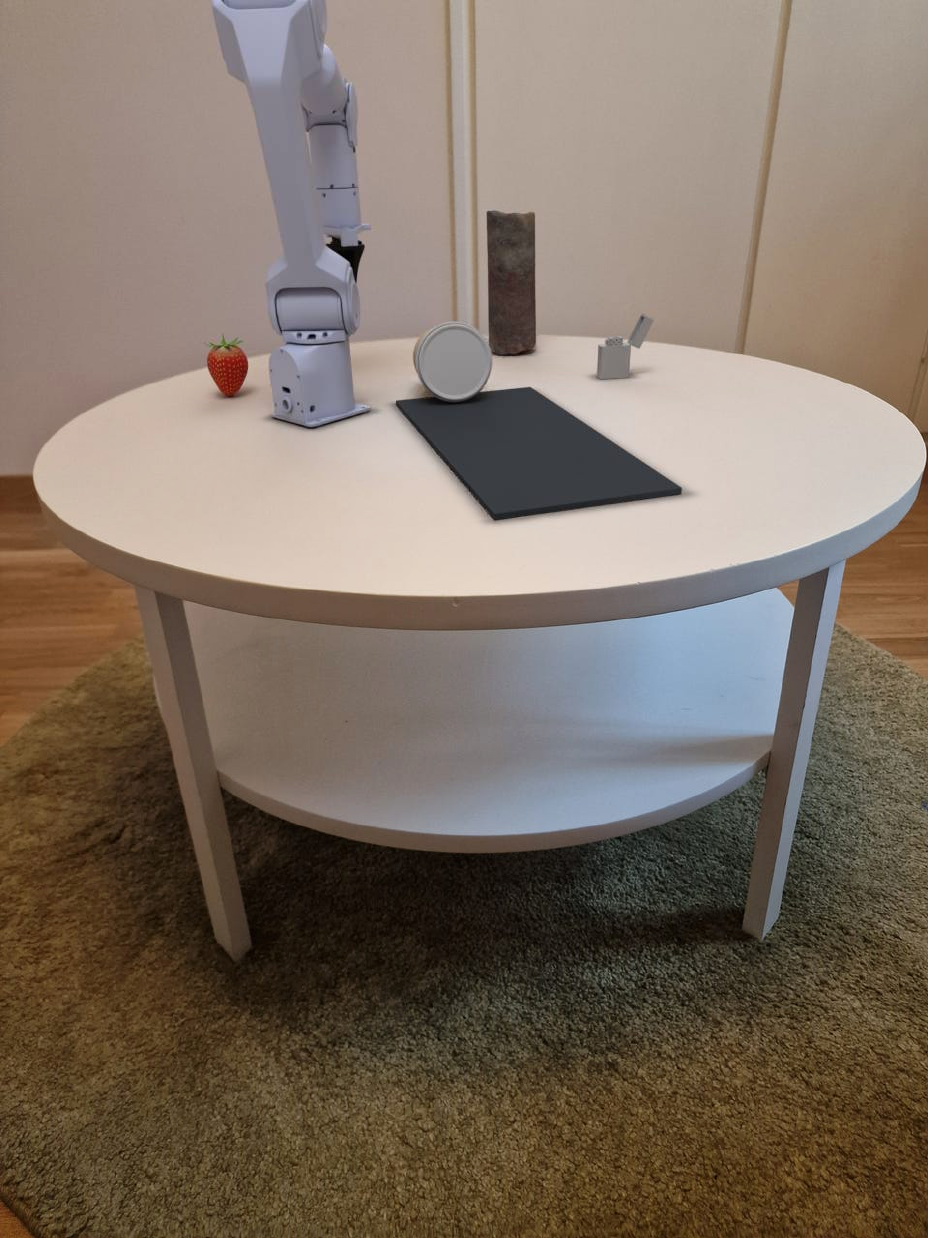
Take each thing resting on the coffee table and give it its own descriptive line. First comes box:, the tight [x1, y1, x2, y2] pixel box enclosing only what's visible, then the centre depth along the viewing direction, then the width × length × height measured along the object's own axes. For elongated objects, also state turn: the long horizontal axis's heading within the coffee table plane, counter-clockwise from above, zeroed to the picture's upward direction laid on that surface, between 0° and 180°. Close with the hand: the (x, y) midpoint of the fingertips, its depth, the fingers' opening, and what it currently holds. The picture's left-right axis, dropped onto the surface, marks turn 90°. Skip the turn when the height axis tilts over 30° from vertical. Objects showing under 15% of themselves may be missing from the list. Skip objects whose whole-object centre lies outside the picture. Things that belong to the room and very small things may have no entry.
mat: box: [395, 386, 683, 521], centre depth 92 cm, size 40×18×1 cm, turn 16°
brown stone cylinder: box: [486, 210, 537, 356], centre depth 128 cm, size 8×7×20 cm
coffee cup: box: [412, 321, 493, 402], centre depth 108 cm, size 9×9×12 cm
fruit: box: [204, 333, 249, 397], centre depth 112 cm, size 5×5×8 cm
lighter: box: [596, 313, 655, 380], centre depth 115 cm, size 7×2×8 cm, turn 100°
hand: (346, 299), depth 116 cm, fingers closed
